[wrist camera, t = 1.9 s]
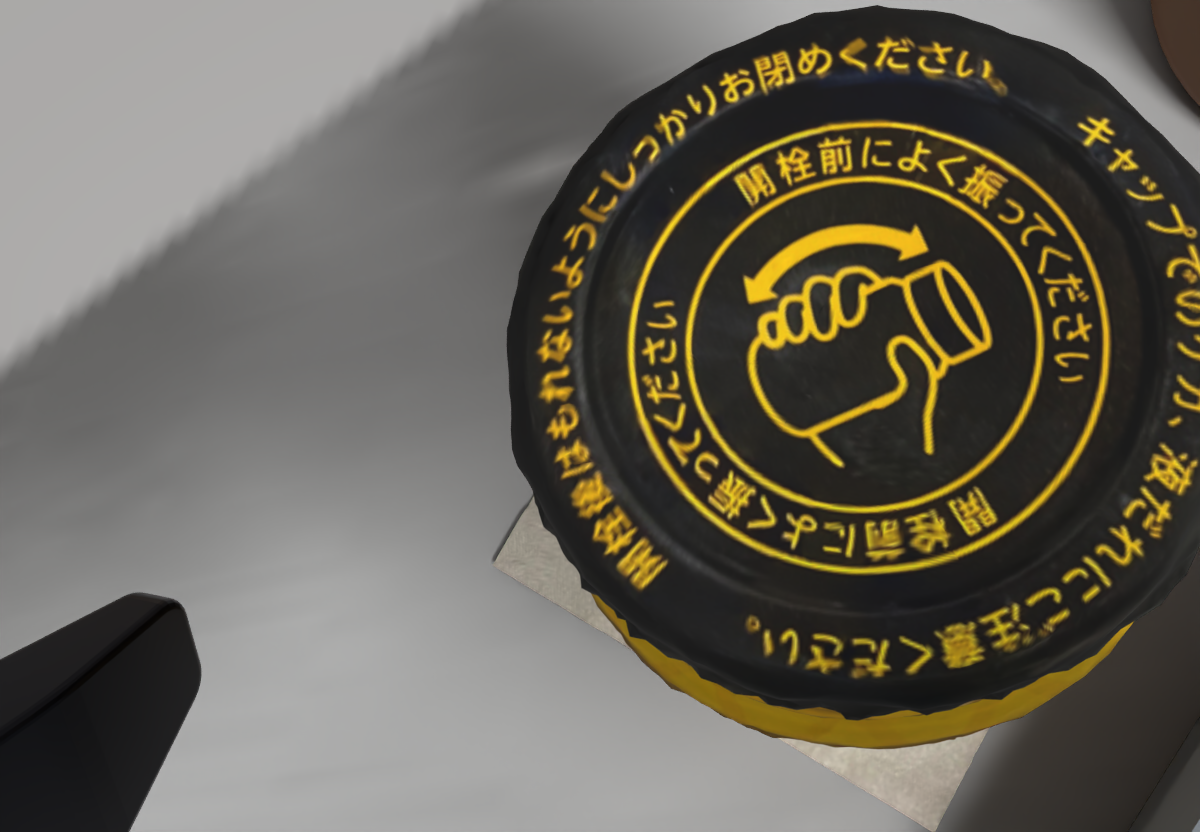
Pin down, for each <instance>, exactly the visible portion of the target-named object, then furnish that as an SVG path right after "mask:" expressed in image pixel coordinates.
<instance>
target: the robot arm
mask: <svg viewBox="0 0 1200 832" xmlns="http://www.w3.org/2000/svg"><path fill="white" fill-rule="evenodd" d="M200 681H201V664H200V660H199V657H198V653H197V650H196V646H195V642H194V639H193V635H192V632H191V628H190V625H189V621H188V618H187V614H186V612H185V609H184V607H183V606H182V605H181V604H180V603H179V602H178V601H177V600H174V599H171V598H166V597H162V596H157V595H152V594H147V593H132V594H128V595H126V596H124V597H122V598H120V599H118V600H116V601H114V602H112V603H110V604H108V605H106V606H104V607H102V608H100V609H98V610H96V611H94V612H92V613H90V614H88V615H86V616H84V617H82V618H80V619H79V620H77V621H75V622H73V623H71V624H69V625H67V626H65V627H63V628H61V629H59V630H57V631H55V632H53V633H51V634H49V635H47V636H45V637H43V638H41V639H39V640H37V641H36V642H34V643H32V644H30V645H28V646H26V647H24V648H22V649H20V650H18V651H16V652H14V653H12V654H10V655H8V656H6V657H4V658H2V659H0V832H129V831H130V829H131V827H132V825H133V823H134V821H135V819H136V817H137V815H138V813H139V811H140V809H141V807H142V805H143V803H144V801H145V799H146V797H147V795H148V793H149V791H150V789H151V787H152V785H153V783H154V781H155V779H156V777H157V775H158V773H159V771H160V769H161V767H162V765H163V763H164V761H165V759H166V757H167V755H168V752H169V750H170V748H171V746H172V744H173V742H174V740H175V738H176V736H177V734H178V732H179V730H180V728H181V726H182V724H183V722H184V720H185V718H186V716H187V714H188V712H189V710H190V708H191V706H192V704H193V702H194V700H195V698H196V695H197V693H198V690H199V686H200Z"/></svg>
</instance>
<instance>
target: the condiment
mask: <svg viewBox="0 0 1200 832" xmlns="http://www.w3.org/2000/svg"><path fill="white" fill-rule="evenodd" d="M507 357H508V369H509V392H510V399H511V438H512V450H513V454H514V457H515V460H516V463H517V466H518V467H519V469H520V470H521V472H522V473H523V475H524V476H525V477H526V479H527V481H528V482H529V484H530V486H531V488H532V490H533V491H534V497H533V499H532V500H531V502H530V504H529V506H528V507H527V509H526V510H525V511H524V512H523V514H522V515H521V517H520V519H519V521H518V522H517V524H516V526H515V527H514V529H513V531H512V532H511V534H510V536H509V538H508V539H507V541H506V543H505V545H504V546H503V548H502V550H501V552H500V553H499V555H498V557H497V558H496V560H495V562H494V564H493V566H494V567H496V568H497V569H499V570H501V571H502V572H504V573H506V574H507V575H509V576H511V577H512V578H514V579H515V580H517V581H519V582H520V583H522V584H523V585H525V586H527V587H528V588H530V589H532V590H533V591H535V592H537V593H538V594H540V595H542V596H543V597H545V598H547V599H548V600H550V601H552V602H554V603H555V604H557V605H559V606H560V607H562V608H563V609H565V610H567V611H568V612H570V613H572V614H573V615H575V616H576V617H578V618H580V619H581V620H583V621H584V622H586V623H588V624H589V625H591V626H593V627H594V628H596V629H598V630H600V631H602V632H604V633H606V634H607V635H609V636H611V637H612V638H614V639H615V640H617V641H618V642H620V643H621V644H623V645H624V646H626V647H628V648H629V649H631V650H632V651H634V652H635V653H636V654H637V656H638V657H639V658H640V659H641V661H642V662H643V663H644V664H646V665H647V666H648V667H649V668H650V669H651V670H652V671H653V672H655V673H656V674H658V675H659V676H660V677H661V678H662V679H663V680H664V681H665V682H666V684H667V685H668V686H669V687H670V688H671V689H674V690H677V691H680V692H683V693H686V694H687V695H689V696H691V697H692V698H694V699H696V700H697V701H699V702H700V703H702V704H704V705H706V706H708V707H710V708H711V709H713V710H714V711H716V712H717V713H719V714H720V715H722V716H723V717H726V718H729V719H733V720H734V721H736V722H738V723H740V724H742V725H743V726H745V727H748V728H751V729H754V730H757V731H759V732H761V733H763V734H765V735H767V736H770V737H772V738H779V739H780V740H782V741H784V742H785V743H787V744H789V745H790V746H792V747H793V748H795V749H797V750H798V751H800V752H802V753H803V754H805V755H807V756H808V757H810V758H812V759H813V760H815V761H817V762H818V763H820V764H822V765H823V766H825V767H827V768H828V769H830V770H832V771H833V772H835V773H836V774H838V775H840V776H841V777H843V778H845V779H846V780H848V781H849V782H851V783H853V784H854V785H856V786H858V787H859V788H861V789H863V790H864V791H866V792H868V793H870V794H871V795H873V796H874V797H876V798H878V799H879V800H881V801H883V802H884V803H886V804H888V805H889V806H891V807H892V808H894V809H896V810H897V811H899V812H901V813H902V814H904V815H906V816H907V817H909V818H910V819H912V820H914V821H915V822H917V823H919V824H920V825H922V826H923V827H925V828H926V829H928V830H930V831H931V832H935V831H936V829H937V827H938V825H939V823H940V821H941V819H942V817H943V815H944V813H945V811H946V809H947V807H948V806H949V804H950V802H951V800H952V798H953V796H954V794H955V792H956V790H957V788H958V787H959V785H960V783H961V781H962V779H963V777H964V775H965V773H966V771H967V769H968V768H969V766H970V764H971V763H972V760H973V757H974V755H975V753H976V752H977V750H978V748H979V746H980V744H981V742H982V741H983V739H984V737H985V735H986V733H987V731H988V729H989V727H992V726H995V725H998V724H1000V723H1004V722H1007V721H1011V720H1015V719H1019V718H1022V717H1023V716H1025V715H1027V714H1028V713H1030V712H1031V711H1033V710H1035V709H1036V708H1038V707H1039V706H1041V705H1043V704H1044V703H1046V702H1047V701H1049V700H1050V699H1052V698H1053V697H1055V696H1056V695H1058V694H1059V693H1061V692H1062V691H1063V690H1065V689H1066V688H1068V687H1069V686H1071V685H1073V684H1074V683H1076V682H1077V681H1079V680H1080V679H1082V678H1083V677H1085V676H1086V675H1087V674H1088V673H1089V672H1090V671H1091V670H1092V669H1093V668H1094V667H1095V666H1096V665H1097V664H1098V663H1099V662H1101V661H1102V660H1103V659H1104V658H1105V657H1106V656H1107V655H1109V654H1110V652H1111V651H1112V650H1113V648H1114V647H1115V645H1116V644H1117V643H1118V641H1119V640H1120V639H1121V637H1122V636H1123V635H1124V634H1125V632H1126V631H1127V630H1128V629H1129V627H1130V626H1131V625H1132V624H1133V622H1134V621H1135V620H1137V619H1139V618H1140V617H1142V616H1144V615H1145V614H1147V613H1148V612H1150V611H1151V610H1153V609H1155V608H1156V607H1158V606H1159V605H1161V604H1162V603H1163V601H1164V600H1165V598H1166V597H1167V596H1168V594H1169V593H1170V592H1171V590H1172V589H1173V588H1174V587H1175V586H1176V585H1177V583H1178V582H1179V581H1180V580H1181V579H1182V578H1183V577H1184V576H1185V575H1186V574H1187V572H1188V570H1189V568H1190V566H1191V564H1192V562H1193V559H1194V557H1195V555H1196V553H1197V550H1198V548H1199V546H1200V174H1199V173H1198V172H1197V171H1196V170H1195V168H1194V167H1193V166H1192V165H1191V164H1190V163H1189V162H1188V161H1187V160H1186V159H1185V158H1184V157H1183V156H1182V155H1181V154H1180V153H1179V152H1178V151H1177V150H1176V149H1175V148H1174V147H1173V146H1172V145H1171V143H1170V142H1169V141H1168V140H1167V139H1166V138H1165V137H1164V136H1163V135H1162V134H1161V133H1160V132H1159V131H1158V130H1157V129H1155V128H1154V127H1153V126H1152V125H1151V124H1150V123H1149V122H1148V121H1146V120H1145V119H1144V118H1143V117H1142V116H1141V115H1140V113H1139V112H1138V111H1137V110H1136V109H1135V108H1134V107H1133V106H1132V105H1131V104H1130V103H1129V102H1128V101H1127V100H1126V99H1125V98H1124V97H1123V96H1122V95H1121V94H1120V93H1119V92H1118V91H1117V90H1116V89H1115V88H1114V87H1113V86H1112V85H1111V84H1110V83H1109V82H1108V81H1107V80H1106V79H1105V78H1104V77H1102V76H1101V75H1100V74H1099V73H1097V72H1096V71H1095V70H1094V69H1092V68H1090V67H1089V66H1087V65H1085V64H1083V63H1082V62H1080V61H1079V60H1078V59H1076V58H1075V57H1073V56H1072V55H1071V54H1069V53H1068V52H1066V51H1063V50H1061V49H1058V48H1056V47H1053V46H1050V45H1048V44H1045V43H1042V42H1039V41H1035V40H1031V39H1027V38H1023V37H1020V36H1016V35H1012V34H1009V33H1007V32H1005V31H1002V30H1000V29H998V28H996V27H993V26H991V25H987V24H983V23H980V22H976V21H973V20H970V19H968V18H965V17H962V16H959V15H956V14H951V13H945V12H938V11H928V10H910V9H897V8H887V7H882V6H878V5H876V6H870V7H864V8H858V9H851V10H845V11H838V12H822V13H813V14H811V15H808V16H806V17H804V18H801V19H799V20H796V21H794V22H791V23H788V24H784V25H780V26H777V27H775V28H773V29H771V30H769V31H767V32H764V33H762V34H760V35H758V36H756V37H753V38H751V39H748V40H746V41H744V42H741V43H739V44H736V45H734V46H732V47H729V48H726V49H723V50H721V51H718V52H715V53H713V54H711V55H709V56H708V57H706V58H704V59H703V60H701V61H699V62H698V63H696V64H695V65H693V66H691V67H690V68H688V69H686V70H685V71H683V72H682V73H680V74H678V75H677V76H675V77H674V78H672V79H671V80H669V81H667V82H665V83H664V84H662V85H660V86H658V87H657V88H655V89H653V90H651V91H649V92H648V93H646V94H644V95H643V96H641V97H639V98H638V99H636V100H635V101H633V102H631V103H630V104H628V105H627V106H626V107H625V108H623V109H622V110H621V111H619V112H618V113H617V114H616V115H615V116H614V118H613V119H612V120H611V121H610V122H609V123H608V124H607V126H606V127H605V129H604V130H603V131H602V133H601V134H600V135H599V136H598V137H597V138H596V139H595V141H594V142H593V143H592V144H591V145H590V146H589V148H588V149H587V151H586V152H585V153H584V154H583V155H582V157H581V158H580V159H579V160H578V161H577V162H576V164H575V165H574V166H573V168H572V169H571V171H570V173H569V175H568V176H567V178H566V180H565V181H564V183H563V185H562V187H561V189H560V190H559V192H558V194H557V196H556V198H555V199H554V201H553V202H552V204H551V205H550V206H549V208H548V209H547V211H546V212H545V214H544V215H543V216H542V218H541V221H540V223H539V225H538V227H537V230H536V232H535V234H534V237H533V239H532V242H531V244H530V246H529V249H528V251H527V253H526V256H525V259H524V261H523V264H522V267H521V269H520V272H519V278H518V286H517V290H516V294H515V297H514V301H513V306H512V311H511V316H510V320H509V324H508V327H507Z"/></svg>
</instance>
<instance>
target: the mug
mask: <svg viewBox="0 0 1200 832" xmlns="http://www.w3.org/2000/svg"><path fill="white" fill-rule="evenodd" d="M1151 8H1152V15H1153V22H1154V25H1155V29H1156V32H1157V35H1158V39H1159V42H1160V45H1161V48H1162V50H1163V52H1164V54H1165V56H1166V58H1167V60H1168V62H1169V64H1170V67H1171V69H1172V71H1173V72H1174V73H1175V75H1176V76H1177V78H1178V79H1179V81H1180V82H1181V84H1182V85H1183V87H1184V88H1185V90H1186V91H1187V93H1188V94H1189V95H1190V96H1191V97H1192V98H1193V99H1194V101H1195V102H1196V103H1197V104H1198V105H1199V106H1200V0H1151Z"/></svg>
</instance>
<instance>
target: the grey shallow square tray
mask: <svg viewBox="0 0 1200 832" xmlns="http://www.w3.org/2000/svg"><path fill="white" fill-rule="evenodd" d="M1128 832H1200V717H1199V719H1198V720H1197V722H1196V724H1195V725H1194V727H1193V728H1192V730H1191V732H1190V733H1189V735H1188V736H1187V738H1186V740H1185V741H1184V743H1183V744H1182V746H1181V748H1180V749H1179V751H1178V752H1177V754H1176V756H1175V757H1174V759H1173V760H1172V762H1171V764H1170V765H1169V767H1168V768H1167V770H1166V772H1165V773H1164V775H1163V776H1162V778H1161V780H1160V781H1159V783H1158V784H1157V786H1156V788H1155V789H1154V791H1153V792H1152V794H1151V796H1150V797H1149V799H1148V800H1147V802H1146V804H1145V805H1144V807H1143V808H1142V810H1141V812H1140V813H1139V815H1138V816H1137V818H1136V820H1135V821H1134V823H1133V824H1132V826H1131V828H1130V829H1129V831H1128Z"/></svg>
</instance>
